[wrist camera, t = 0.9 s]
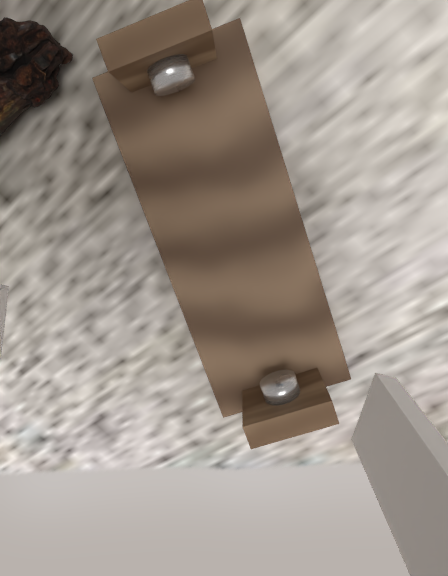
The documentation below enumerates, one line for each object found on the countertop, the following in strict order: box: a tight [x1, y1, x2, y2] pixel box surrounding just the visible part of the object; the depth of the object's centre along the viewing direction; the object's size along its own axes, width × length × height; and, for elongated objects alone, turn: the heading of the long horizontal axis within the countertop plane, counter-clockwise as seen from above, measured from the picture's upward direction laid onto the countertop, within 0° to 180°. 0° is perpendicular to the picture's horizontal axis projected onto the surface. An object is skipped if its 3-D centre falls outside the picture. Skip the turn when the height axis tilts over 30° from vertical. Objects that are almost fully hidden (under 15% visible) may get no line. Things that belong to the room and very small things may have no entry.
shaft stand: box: [92, 0, 351, 449], centre depth 33 cm, size 30×12×8 cm, turn 19°
